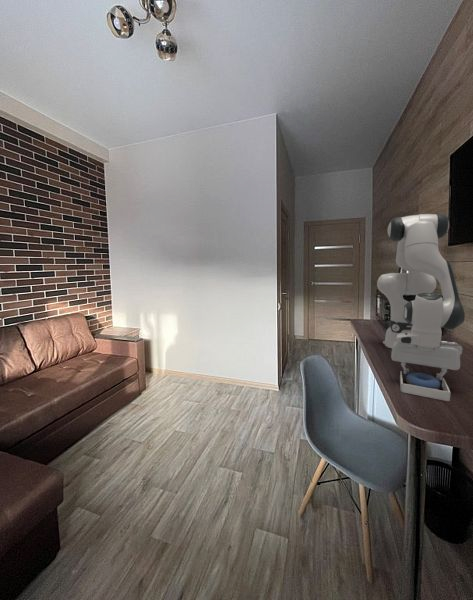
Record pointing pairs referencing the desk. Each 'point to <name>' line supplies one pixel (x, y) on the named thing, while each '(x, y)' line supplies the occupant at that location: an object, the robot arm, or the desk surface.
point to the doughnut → (423, 380)
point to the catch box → (426, 390)
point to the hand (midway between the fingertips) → (422, 376)
